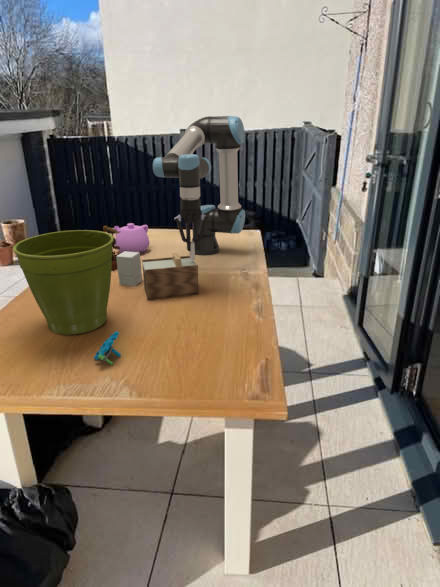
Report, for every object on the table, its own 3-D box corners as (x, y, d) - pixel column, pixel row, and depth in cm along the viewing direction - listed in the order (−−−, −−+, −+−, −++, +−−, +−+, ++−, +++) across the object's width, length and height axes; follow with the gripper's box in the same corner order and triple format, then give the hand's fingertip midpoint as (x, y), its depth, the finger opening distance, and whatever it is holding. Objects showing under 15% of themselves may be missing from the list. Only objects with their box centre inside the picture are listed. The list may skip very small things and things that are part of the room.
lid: (192, 260, 173) (191, 250, 171) (197, 268, 163) (197, 258, 161) (142, 264, 168) (141, 254, 166) (145, 273, 158) (144, 263, 157)
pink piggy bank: (133, 243, 234) (130, 216, 228) (159, 249, 223) (157, 221, 218) (105, 252, 220) (102, 223, 214) (132, 259, 209) (129, 229, 203)
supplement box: (142, 280, 181) (140, 252, 176) (134, 286, 174) (131, 257, 169) (127, 278, 183) (124, 250, 178) (118, 284, 176) (115, 255, 172)
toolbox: (192, 282, 178) (191, 255, 173) (198, 294, 166) (197, 265, 161) (144, 287, 173) (142, 259, 168) (147, 299, 161) (145, 270, 157)
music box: (126, 263, 203) (121, 222, 193) (122, 272, 193) (117, 230, 184) (94, 263, 202) (88, 223, 193) (89, 273, 192) (82, 231, 183)
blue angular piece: (100, 341, 128) (119, 323, 124) (116, 353, 130) (135, 336, 125) (85, 365, 119) (105, 347, 114) (102, 378, 120) (122, 360, 116)
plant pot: (116, 300, 161) (107, 226, 150) (128, 335, 135) (119, 249, 124) (32, 312, 152) (16, 234, 141) (28, 352, 126) (8, 260, 115)
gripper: (205, 195, 162) (206, 254, 171) (171, 197, 159) (174, 257, 168) (209, 198, 156) (210, 259, 165) (174, 200, 153) (177, 262, 162)
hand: (192, 258), depth 167 cm, fingers closed
